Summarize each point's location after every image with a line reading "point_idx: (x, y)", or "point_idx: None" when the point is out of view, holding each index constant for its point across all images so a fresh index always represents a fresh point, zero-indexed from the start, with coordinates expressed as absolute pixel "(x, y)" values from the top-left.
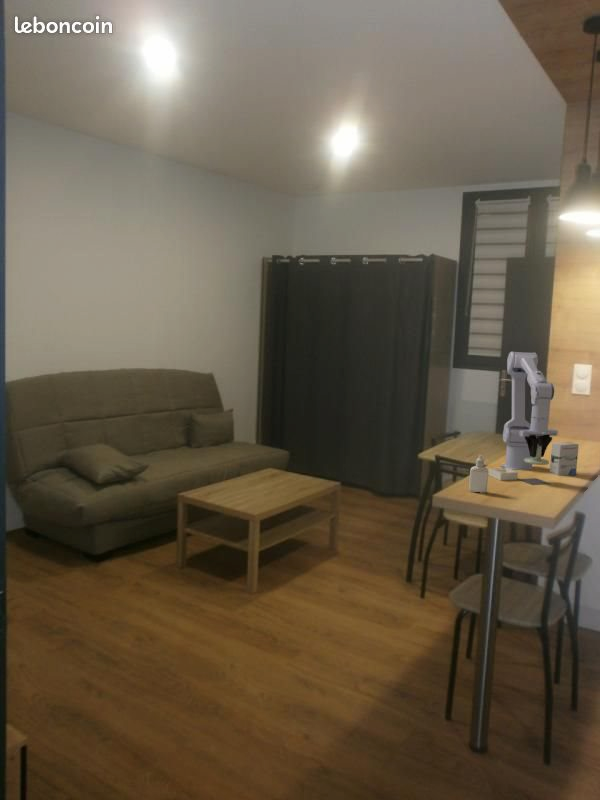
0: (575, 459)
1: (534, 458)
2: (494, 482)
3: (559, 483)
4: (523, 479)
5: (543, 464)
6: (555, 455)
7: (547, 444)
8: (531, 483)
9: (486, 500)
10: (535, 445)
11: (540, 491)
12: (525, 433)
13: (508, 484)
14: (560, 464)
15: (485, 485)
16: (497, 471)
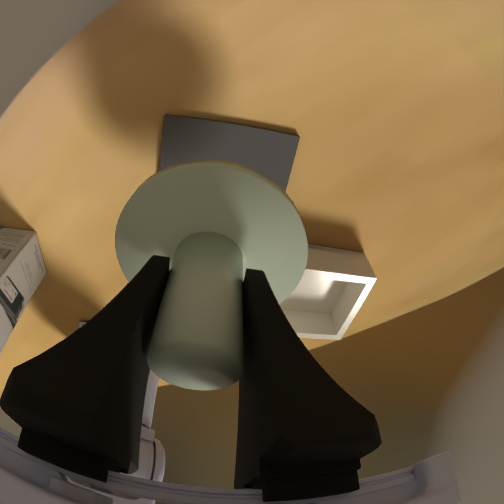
0: None
1: (242, 267)
2: (394, 252)
3: (98, 131)
4: None
5: (231, 162)
6: (2, 311)
7: (89, 338)
8: (275, 161)
9: None
10: (297, 361)
11: (352, 48)
12: (438, 491)
13: (376, 209)
14: (4, 262)
15: None
16: (359, 302)
